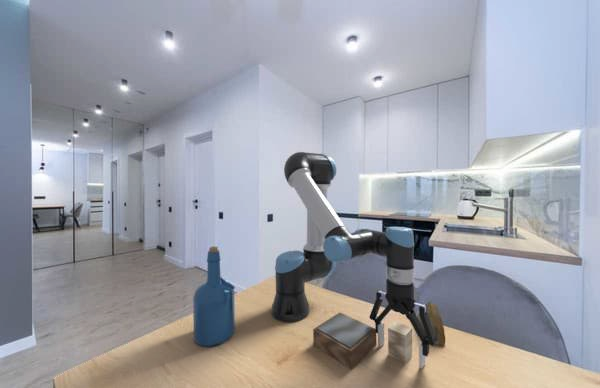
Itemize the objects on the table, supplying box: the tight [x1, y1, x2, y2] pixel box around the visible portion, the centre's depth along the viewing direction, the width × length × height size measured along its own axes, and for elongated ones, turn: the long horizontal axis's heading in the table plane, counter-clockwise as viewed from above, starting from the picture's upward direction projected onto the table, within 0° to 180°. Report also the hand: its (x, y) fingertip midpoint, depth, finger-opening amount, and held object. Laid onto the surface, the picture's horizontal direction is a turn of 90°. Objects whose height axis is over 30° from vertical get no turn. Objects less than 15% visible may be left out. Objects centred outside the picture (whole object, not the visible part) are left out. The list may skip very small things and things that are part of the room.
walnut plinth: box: [312, 311, 377, 370], centre depth 71 cm, size 14×14×5 cm
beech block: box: [387, 321, 413, 365], centre depth 66 cm, size 5×5×8 cm
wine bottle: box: [192, 246, 236, 347], centre depth 77 cm, size 14×13×30 cm
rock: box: [417, 301, 446, 346], centre depth 75 cm, size 11×9×10 cm
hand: (400, 354), depth 66 cm, fingers open, 11 cm apart
